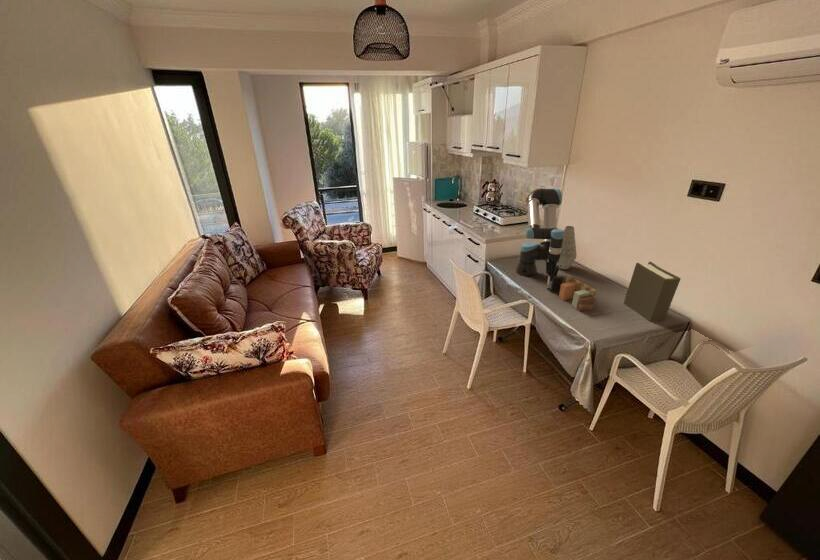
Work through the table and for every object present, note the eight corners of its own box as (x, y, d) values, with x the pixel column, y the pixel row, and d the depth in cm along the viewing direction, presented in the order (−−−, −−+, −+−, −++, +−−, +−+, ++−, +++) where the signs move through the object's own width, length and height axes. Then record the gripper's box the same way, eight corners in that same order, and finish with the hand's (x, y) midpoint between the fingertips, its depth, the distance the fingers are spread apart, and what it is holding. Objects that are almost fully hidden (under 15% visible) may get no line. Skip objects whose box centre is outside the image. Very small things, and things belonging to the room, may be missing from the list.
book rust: (558, 297, 215) (561, 283, 211) (568, 295, 217) (571, 281, 213) (562, 300, 211) (565, 286, 207) (573, 298, 213) (576, 284, 209)
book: (665, 321, 187) (682, 277, 174) (650, 323, 186) (666, 279, 173) (637, 302, 206) (650, 261, 193) (623, 303, 205) (636, 262, 192)
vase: (548, 263, 265) (554, 223, 250) (569, 262, 264) (576, 223, 250) (555, 271, 250) (562, 230, 235) (577, 271, 249) (586, 229, 235)
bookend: (546, 288, 226) (548, 275, 221) (556, 286, 228) (558, 273, 223) (551, 292, 221) (553, 278, 217) (561, 290, 223) (563, 276, 219)
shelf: (551, 293, 220) (554, 277, 215) (564, 290, 223) (567, 274, 218) (579, 311, 198) (583, 294, 193) (594, 308, 201) (598, 291, 196)
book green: (571, 305, 205) (574, 291, 201) (582, 303, 207) (585, 289, 203) (576, 308, 202) (579, 294, 197) (586, 306, 204) (590, 292, 199)
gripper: (543, 250, 222) (538, 281, 232) (556, 256, 211) (551, 289, 221) (552, 248, 224) (547, 279, 234) (566, 255, 213) (560, 287, 223)
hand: (549, 284), depth 228 cm, fingers closed
